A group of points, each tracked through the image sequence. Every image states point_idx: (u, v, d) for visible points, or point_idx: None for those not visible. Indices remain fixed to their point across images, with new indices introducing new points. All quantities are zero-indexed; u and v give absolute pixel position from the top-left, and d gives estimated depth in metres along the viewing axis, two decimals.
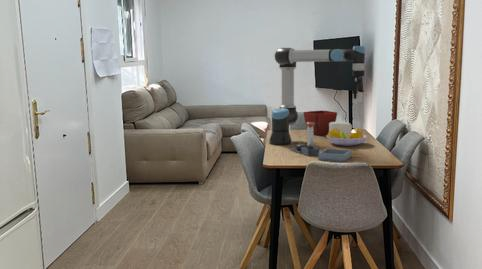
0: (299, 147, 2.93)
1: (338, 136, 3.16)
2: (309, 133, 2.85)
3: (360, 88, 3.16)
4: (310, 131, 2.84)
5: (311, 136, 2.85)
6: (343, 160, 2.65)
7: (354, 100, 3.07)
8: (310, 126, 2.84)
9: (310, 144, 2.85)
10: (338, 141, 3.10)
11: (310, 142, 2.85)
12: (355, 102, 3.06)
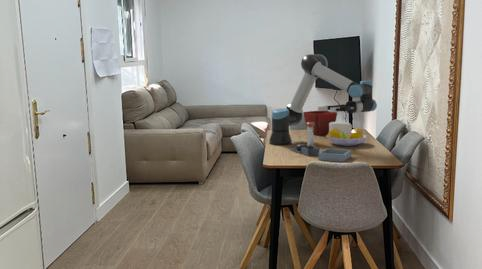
0: (299, 147, 2.93)
1: (338, 136, 3.16)
2: (309, 133, 2.85)
3: None
4: (310, 131, 2.84)
5: (311, 136, 2.85)
6: (343, 160, 2.65)
7: (333, 109, 2.83)
8: (310, 126, 2.84)
9: (310, 144, 2.85)
10: (338, 141, 3.10)
11: (310, 142, 2.85)
12: (332, 110, 2.82)
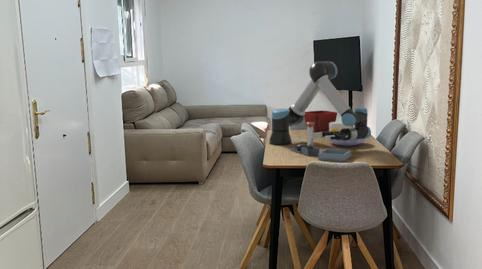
0: (299, 147, 2.93)
1: None
2: (309, 133, 2.85)
3: (326, 135, 2.97)
4: (310, 131, 2.84)
5: (311, 136, 2.85)
6: (343, 160, 2.65)
7: (328, 137, 2.83)
8: (310, 126, 2.84)
9: (310, 144, 2.85)
10: (338, 141, 3.10)
11: (310, 142, 2.85)
12: (326, 138, 2.82)
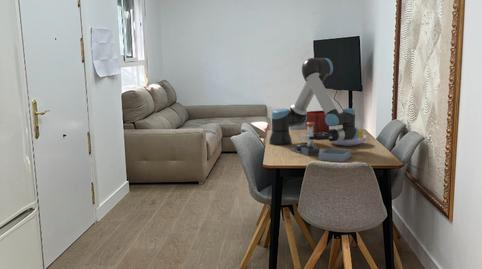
0: (299, 147, 2.93)
1: None
2: (309, 133, 2.85)
3: None
4: (310, 131, 2.84)
5: None
6: (343, 160, 2.65)
7: (307, 137, 2.83)
8: (310, 126, 2.84)
9: (310, 144, 2.85)
10: (338, 141, 3.10)
11: (310, 142, 2.85)
12: (305, 138, 2.82)
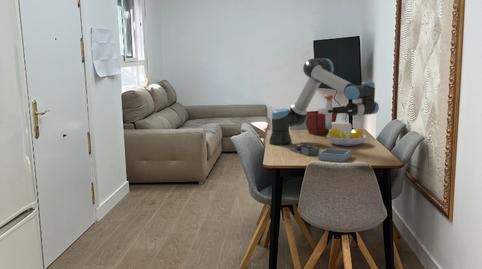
0: (299, 147, 2.93)
1: (338, 136, 3.16)
2: (327, 106, 2.72)
3: None
4: (328, 104, 2.72)
5: None
6: (343, 160, 2.65)
7: (326, 110, 2.71)
8: (328, 99, 2.72)
9: (328, 118, 2.73)
10: (338, 141, 3.10)
11: (328, 116, 2.73)
12: (324, 112, 2.70)
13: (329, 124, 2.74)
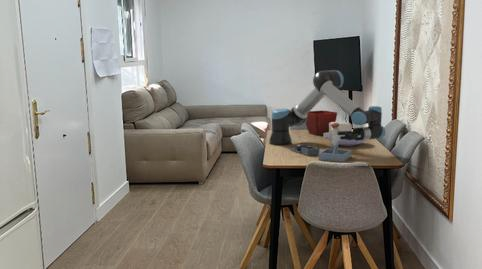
0: (299, 147, 2.93)
1: None
2: (334, 134, 2.72)
3: (338, 135, 2.79)
4: (335, 132, 2.71)
5: None
6: (343, 160, 2.65)
7: (338, 137, 2.67)
8: (335, 127, 2.71)
9: (335, 146, 2.73)
10: (338, 141, 3.10)
11: (335, 144, 2.72)
12: (336, 138, 2.67)
13: (336, 152, 2.73)
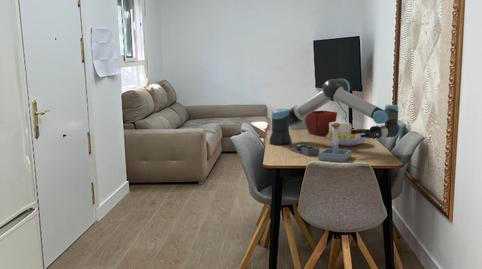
0: (299, 147, 2.93)
1: None
2: (334, 134, 2.72)
3: (355, 133, 2.85)
4: (335, 132, 2.71)
5: (336, 138, 2.72)
6: (343, 160, 2.65)
7: (359, 135, 2.71)
8: (335, 127, 2.71)
9: (335, 146, 2.72)
10: None
11: (335, 144, 2.72)
12: (357, 136, 2.70)
13: (336, 152, 2.73)
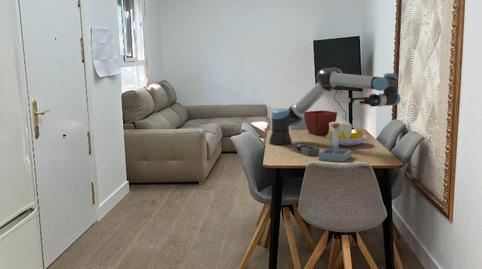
0: (299, 147, 2.93)
1: None
2: (334, 134, 2.72)
3: None
4: (335, 132, 2.71)
5: (336, 138, 2.72)
6: (343, 160, 2.65)
7: (358, 101, 2.72)
8: (335, 127, 2.71)
9: (335, 146, 2.72)
10: None
11: (335, 144, 2.72)
12: (356, 102, 2.72)
13: (336, 152, 2.73)
